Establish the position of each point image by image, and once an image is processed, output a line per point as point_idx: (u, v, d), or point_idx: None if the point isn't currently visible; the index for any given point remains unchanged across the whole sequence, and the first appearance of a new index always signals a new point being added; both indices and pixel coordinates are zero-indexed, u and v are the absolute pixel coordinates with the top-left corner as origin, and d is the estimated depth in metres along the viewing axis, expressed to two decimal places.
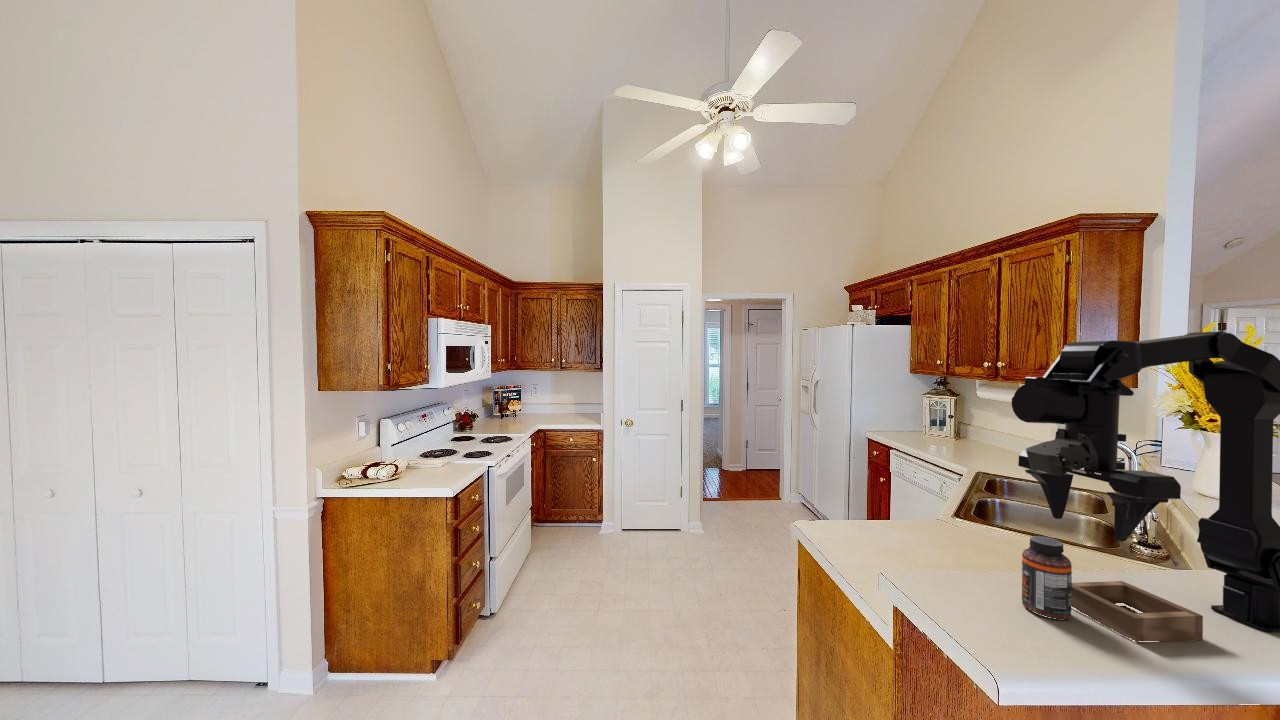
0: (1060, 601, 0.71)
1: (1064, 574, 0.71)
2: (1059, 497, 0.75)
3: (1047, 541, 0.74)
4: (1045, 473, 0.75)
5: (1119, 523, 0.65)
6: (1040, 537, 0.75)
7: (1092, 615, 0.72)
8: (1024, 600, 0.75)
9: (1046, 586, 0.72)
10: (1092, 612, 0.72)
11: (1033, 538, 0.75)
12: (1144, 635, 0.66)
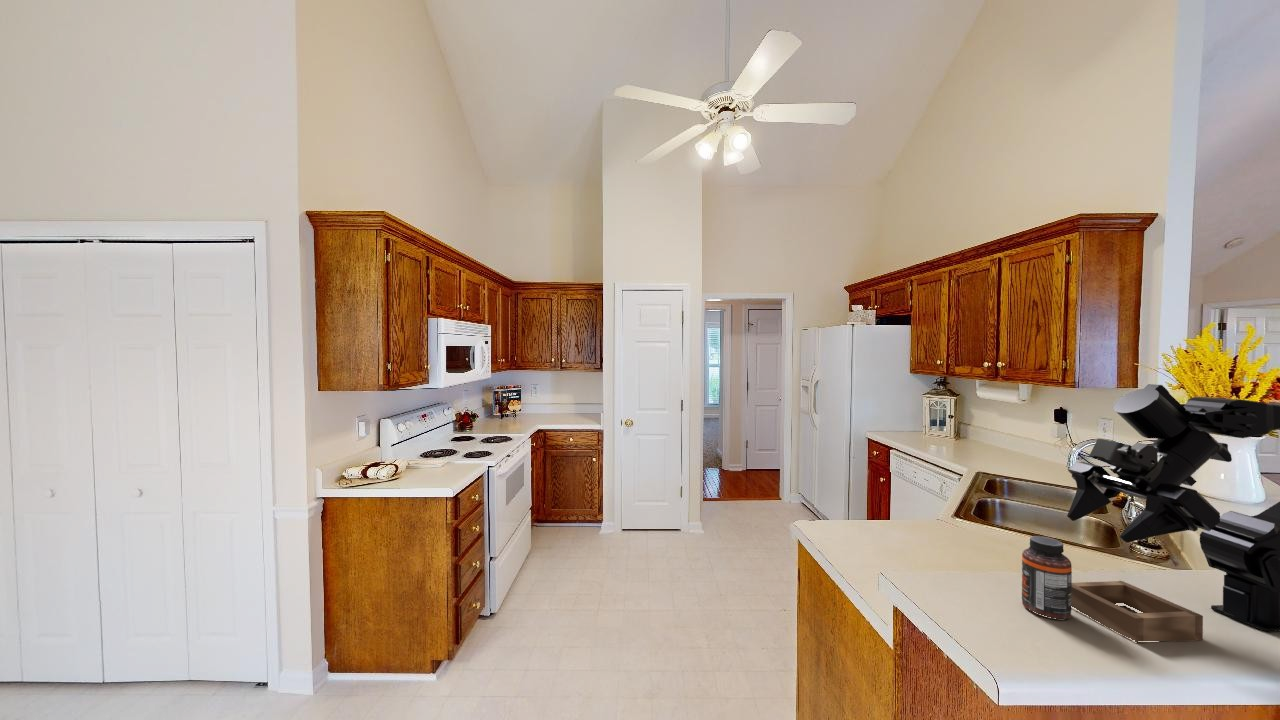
0: (1060, 601, 0.71)
1: (1064, 574, 0.71)
2: (1084, 506, 0.78)
3: (1047, 541, 0.74)
4: None
5: (1135, 524, 0.68)
6: (1040, 537, 0.75)
7: (1092, 615, 0.72)
8: (1024, 600, 0.75)
9: (1046, 586, 0.72)
10: (1092, 612, 0.72)
11: (1032, 538, 0.75)
12: (1144, 635, 0.66)
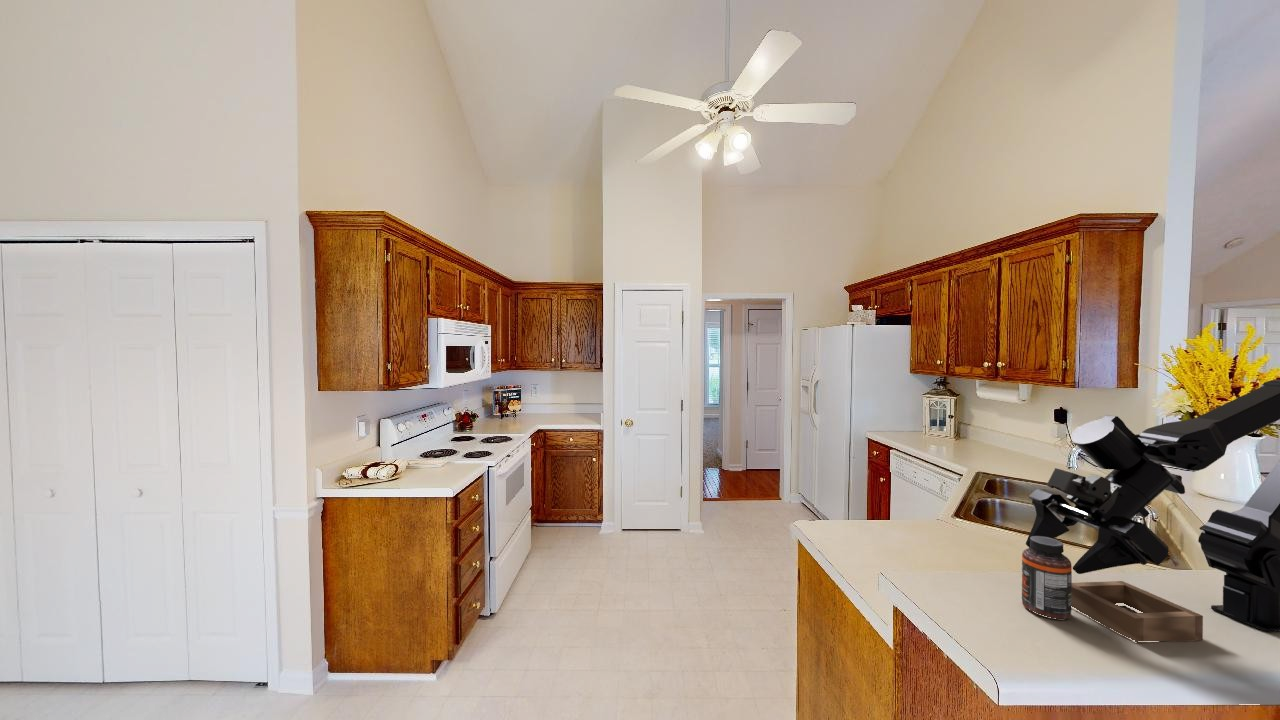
0: (1060, 601, 0.71)
1: (1064, 574, 0.71)
2: (1043, 534, 0.79)
3: (1047, 541, 0.74)
4: (1049, 509, 0.79)
5: (1088, 556, 0.69)
6: (1040, 537, 0.75)
7: (1092, 615, 0.72)
8: (1024, 600, 0.75)
9: (1046, 586, 0.72)
10: (1092, 612, 0.72)
11: (1032, 538, 0.75)
12: (1144, 635, 0.66)
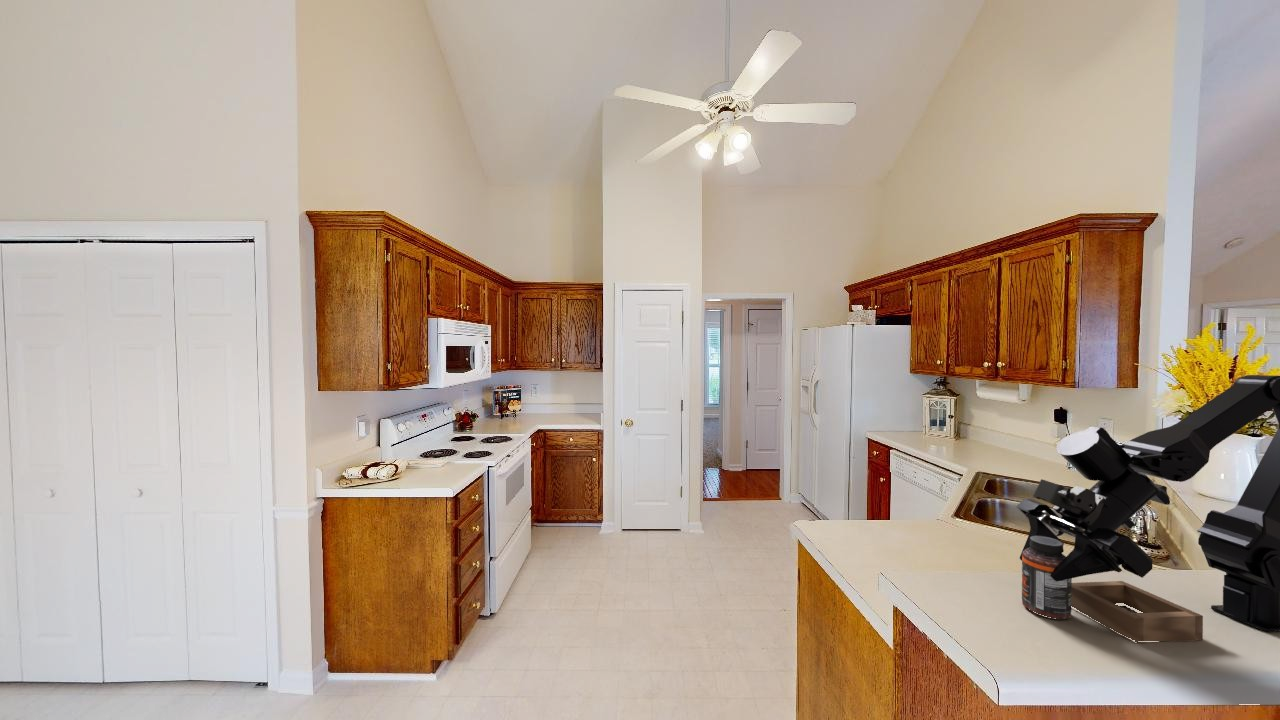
0: (1060, 601, 0.71)
1: None
2: None
3: (1047, 541, 0.74)
4: (1042, 523, 0.78)
5: (1065, 563, 0.70)
6: (1040, 537, 0.75)
7: (1092, 615, 0.72)
8: (1024, 600, 0.75)
9: (1046, 586, 0.72)
10: (1092, 612, 0.72)
11: (1032, 538, 0.75)
12: (1144, 635, 0.66)
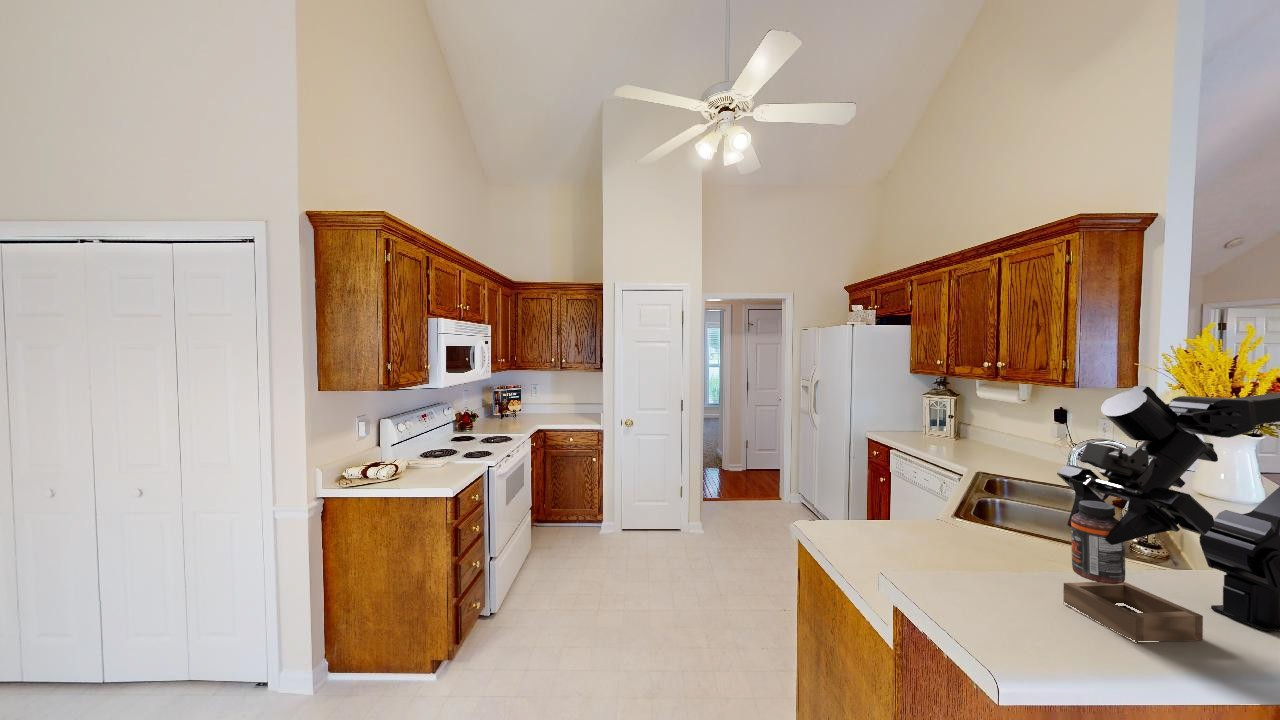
0: (1115, 565, 0.70)
1: None
2: None
3: (1098, 504, 0.72)
4: (1088, 487, 0.76)
5: (1120, 526, 0.69)
6: (1089, 501, 0.74)
7: (1092, 615, 0.72)
8: (1076, 566, 0.73)
9: (1100, 550, 0.70)
10: (1092, 612, 0.72)
11: (1082, 503, 0.73)
12: (1144, 635, 0.66)
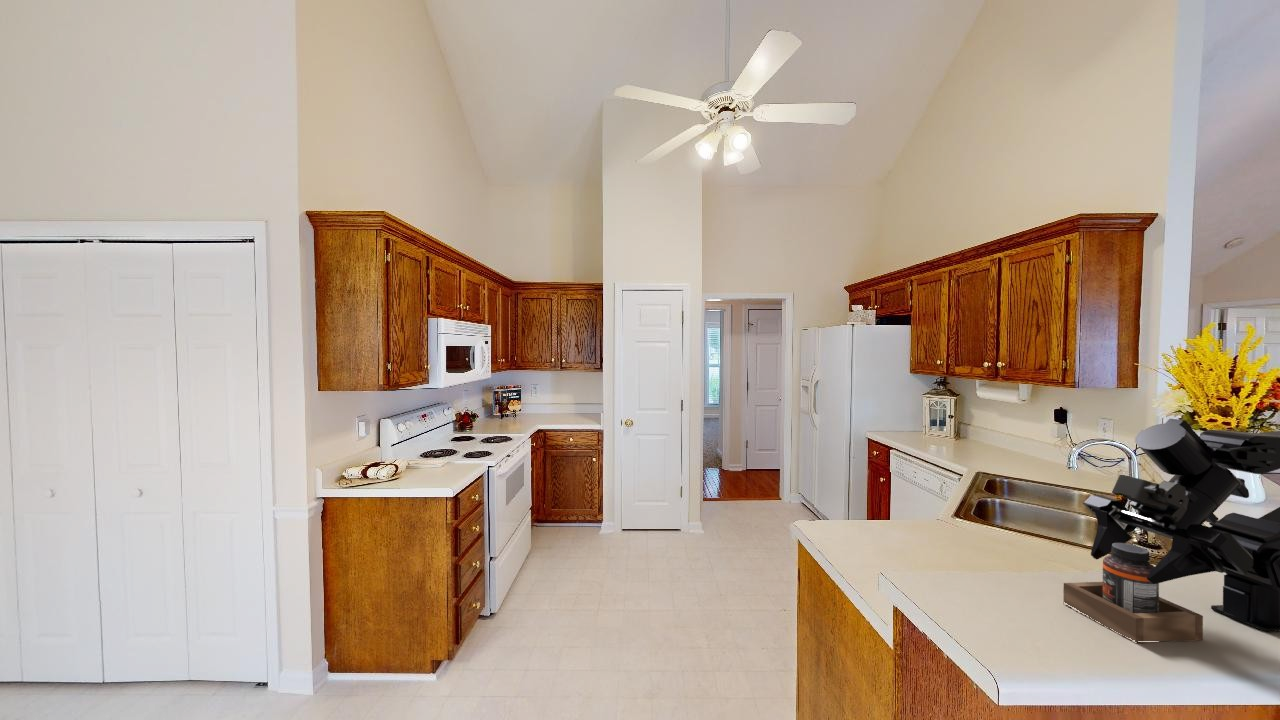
0: (1150, 611, 0.69)
1: None
2: (1107, 543, 0.76)
3: (1132, 548, 0.71)
4: (1111, 517, 0.76)
5: (1163, 565, 0.67)
6: (1122, 544, 0.73)
7: (1092, 615, 0.72)
8: None
9: (1135, 596, 0.69)
10: (1092, 612, 0.72)
11: (1115, 545, 0.72)
12: (1144, 635, 0.66)
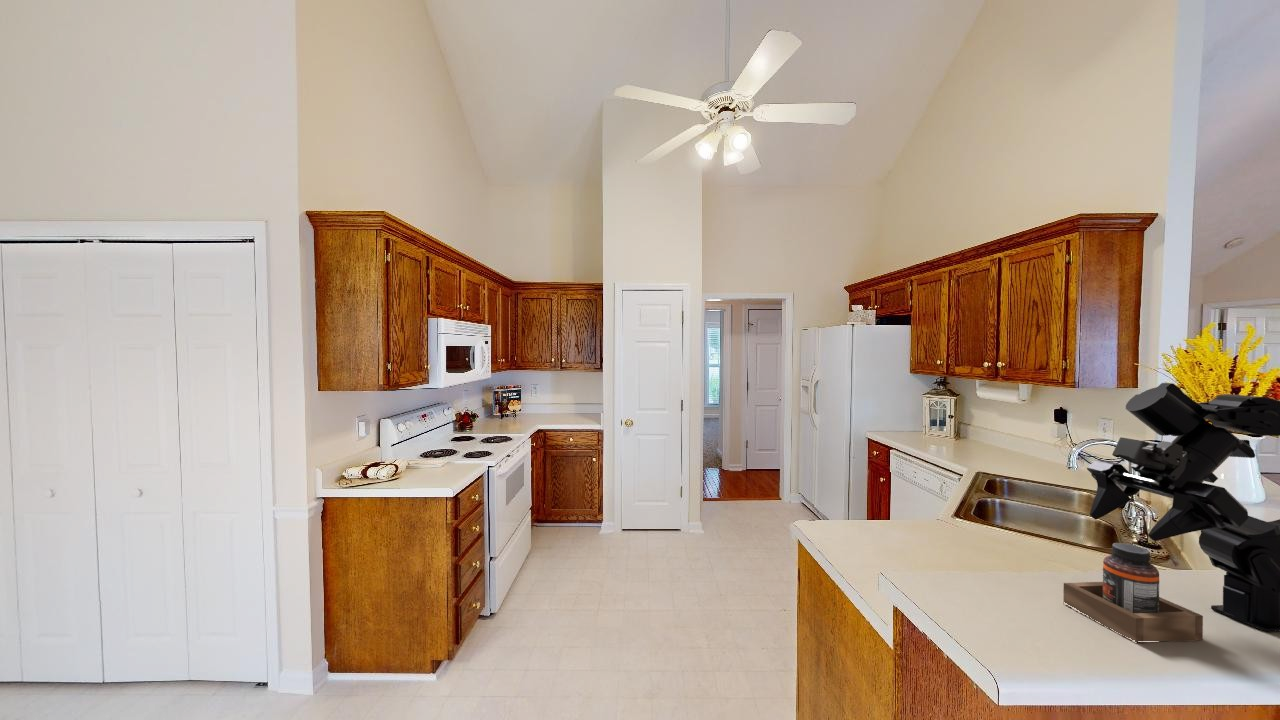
0: (1150, 611, 0.69)
1: (1154, 582, 0.69)
2: (1106, 504, 0.79)
3: (1132, 548, 0.71)
4: (1110, 480, 0.79)
5: (1163, 522, 0.69)
6: (1122, 544, 0.73)
7: (1092, 615, 0.72)
8: None
9: (1135, 596, 0.69)
10: (1092, 612, 0.72)
11: (1116, 546, 0.72)
12: (1144, 635, 0.66)
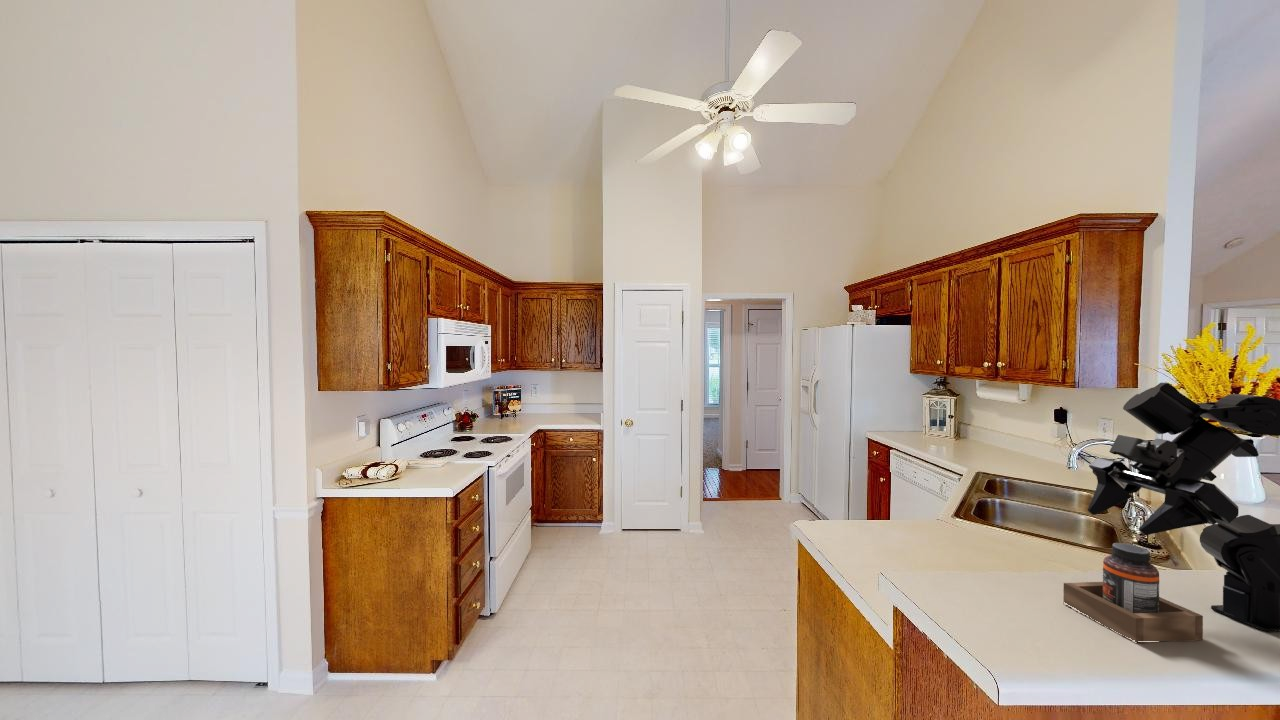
0: (1150, 611, 0.69)
1: (1154, 582, 0.69)
2: (1105, 500, 0.81)
3: (1132, 548, 0.71)
4: (1110, 477, 0.81)
5: (1154, 517, 0.71)
6: (1122, 544, 0.73)
7: (1092, 615, 0.72)
8: None
9: (1135, 596, 0.69)
10: (1092, 612, 0.72)
11: (1116, 546, 0.72)
12: (1144, 635, 0.66)
